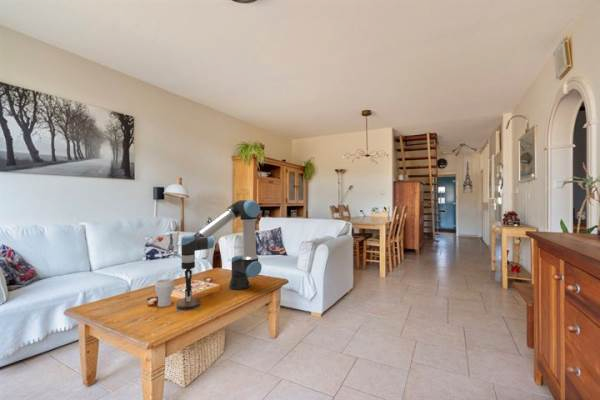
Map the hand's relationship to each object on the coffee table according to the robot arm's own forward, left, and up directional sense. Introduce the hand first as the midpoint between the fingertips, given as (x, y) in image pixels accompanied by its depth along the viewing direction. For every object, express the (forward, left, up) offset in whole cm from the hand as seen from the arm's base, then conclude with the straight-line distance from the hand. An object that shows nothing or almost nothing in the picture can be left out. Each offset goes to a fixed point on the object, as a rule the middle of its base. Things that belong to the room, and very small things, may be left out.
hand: (188, 300), depth 170 cm
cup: (+13, -9, -4) cm, 17 cm away
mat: (0, 0, -4) cm, 4 cm away
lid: (0, 0, -2) cm, 2 cm away
